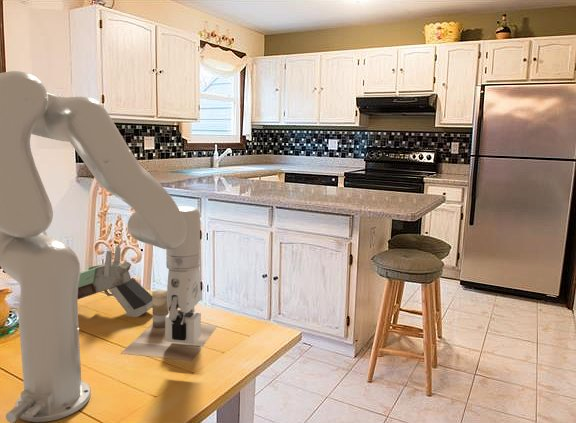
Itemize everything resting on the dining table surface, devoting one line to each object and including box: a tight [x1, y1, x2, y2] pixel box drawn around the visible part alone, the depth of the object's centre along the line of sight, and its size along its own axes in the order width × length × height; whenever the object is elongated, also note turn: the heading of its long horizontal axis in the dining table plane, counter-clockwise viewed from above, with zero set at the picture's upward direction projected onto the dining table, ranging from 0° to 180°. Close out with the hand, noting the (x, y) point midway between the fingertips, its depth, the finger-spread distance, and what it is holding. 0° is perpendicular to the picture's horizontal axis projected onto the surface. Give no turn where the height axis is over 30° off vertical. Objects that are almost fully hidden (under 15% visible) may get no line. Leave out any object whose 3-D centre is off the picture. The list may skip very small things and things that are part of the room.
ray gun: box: [78, 246, 153, 318], centre depth 124 cm, size 7×32×20 cm, turn 80°
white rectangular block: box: [165, 311, 202, 344], centre depth 105 cm, size 4×7×6 cm, turn 82°
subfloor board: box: [120, 323, 218, 362], centre depth 109 cm, size 19×17×1 cm
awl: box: [151, 289, 170, 328], centre depth 115 cm, size 4×4×9 cm
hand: (183, 333), depth 105 cm, fingers closed on white rectangular block, 4 cm apart
